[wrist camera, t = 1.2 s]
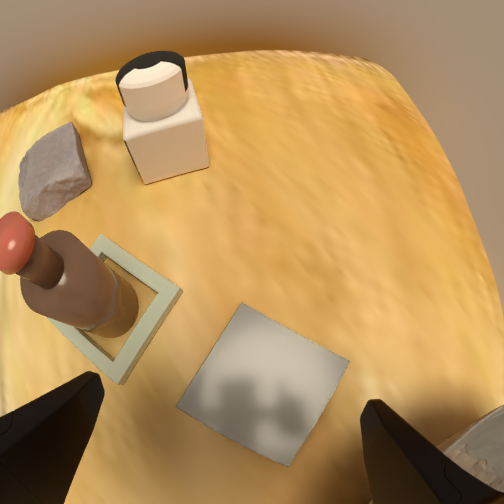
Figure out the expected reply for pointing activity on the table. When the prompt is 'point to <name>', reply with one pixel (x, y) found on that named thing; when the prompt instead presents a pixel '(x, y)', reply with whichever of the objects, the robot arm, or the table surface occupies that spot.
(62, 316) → the sauce bottle
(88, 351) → the pocket frame
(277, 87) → the table surface
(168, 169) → the medicine bottle
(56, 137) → the stone block
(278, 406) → the slate pad
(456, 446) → the ceramic bowl
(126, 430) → the table surface
